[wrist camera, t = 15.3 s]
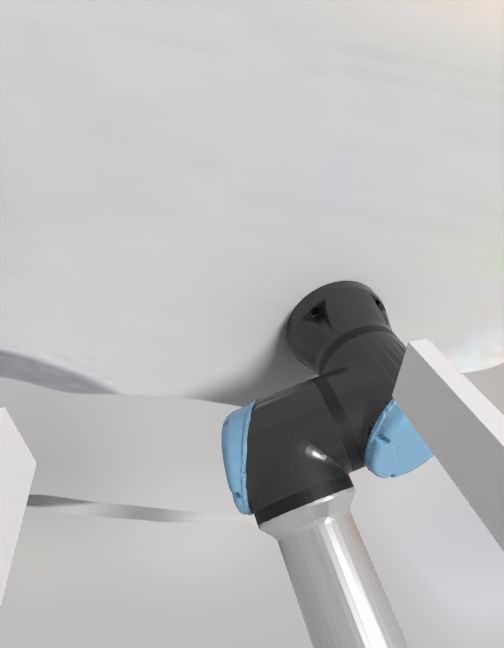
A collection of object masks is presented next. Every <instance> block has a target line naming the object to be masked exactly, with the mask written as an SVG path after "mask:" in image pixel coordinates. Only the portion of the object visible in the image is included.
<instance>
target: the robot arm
mask: <svg viewBox="0 0 504 648" xmlns="http://www.w3.org/2000/svg"><path fill="white" fill-rule="evenodd" d="M287 337H288V341H289V344H290V346H291V348H292V350H293V352H294V354H295V356H296V357H297V358H298V359H299V360H300V361H301V362H302V363H303V364H305V365H306V366H307V367H309V368H310V369H311V370H312V371H313V372H314V373H316V374H317V375H318V377H316V378H313V379H310V380H308V381H305V382H303V383H300V384H298V385H296V386H293V387H291V388H288V389H286V390H283V391H281V392H278V393H276V394H273V395H271V396H268V397H266V398H264V399H261V400H254V401H252V402H251V404H249V405H247V406H245V407H243V408H241V409H238V410H236V411H234V412H232V413H231V414H230V415H228V417H227V418H226V419H225V422H224V424H223V429H222V453H223V460H224V466H225V471H226V476H227V480H228V484H229V488H230V490H231V491H232V494H233V499H234V502H235V505H236V507H237V508H238V510H239V511H240V512H241V513H242V514H248V515H252V514H253V513H254V515H255V518H256V521H257V524H258V527H259V529H260V530H262V531H264V532H266V533H268V534H269V535H271V536H273V537H274V538H275V539H276V540H277V541H278V543H279V547H280V549H281V553H282V555H283V558H284V561H285V564H286V567H287V570H288V573H289V576H290V579H291V582H292V585H293V588H294V591H295V594H296V597H297V600H298V603H299V606H300V609H301V612H302V615H303V618H304V621H305V624H306V627H307V630H308V633H309V636H310V639H311V642H312V645H313V648H409V647H408V645H407V642H406V640H405V638H404V635H403V633H402V631H401V628H400V626H399V624H398V621H397V619H396V617H395V615H394V612H393V610H392V608H391V605H390V603H389V601H388V598H387V596H386V594H385V592H384V589H383V587H382V584H381V582H380V580H379V578H378V575H377V573H376V570H375V568H374V566H373V563H372V561H371V559H370V557H369V554H368V552H367V550H366V547H365V545H364V543H363V540H362V538H361V536H360V533H359V531H358V529H357V527H356V524H355V522H354V519H353V517H352V515H351V512H350V505H351V502H352V499H353V496H354V493H355V488H354V486H353V484H352V481H351V479H350V477H349V473H350V472H352V471H355V470H358V469H360V468H362V467H365V466H367V468H368V470H370V471H371V472H373V474H375V475H376V476H378V477H382V478H388V477H389V476H391V477H397V476H401V475H403V474H406V473H408V472H410V471H412V470H414V469H416V468H417V467H419V466H421V465H422V464H423V463H425V462H426V461H427V460H429V459H430V458H431V457H432V456H433V455H435V456H436V458H437V459H438V461H439V462H440V463H441V465H442V466H443V468H444V469H445V470H446V472H447V473H448V474H449V475H450V477H451V479H452V480H453V481H454V483H455V484H456V486H457V487H458V488H459V489H460V491H461V492H462V494H463V495H464V497H465V498H466V499H467V501H468V502H469V504H470V505H471V506H472V508H473V509H474V511H475V512H476V513H477V515H478V516H479V517H480V519H481V520H482V522H483V523H484V524H485V526H486V527H487V528H488V530H489V531H490V533H491V534H492V535H493V537H494V538H495V540H496V541H497V542H498V544H499V545H500V547H501V548H502V549H503V550H504V416H503V415H502V414H501V413H500V412H499V411H498V410H497V409H496V408H495V407H494V406H493V405H492V404H491V403H490V402H489V401H488V400H487V398H486V397H484V395H483V394H482V393H481V392H480V391H478V389H477V388H476V387H475V386H474V385H473V384H472V383H471V382H470V381H469V380H468V379H467V378H466V377H465V376H464V375H463V374H462V373H461V372H460V371H459V370H458V369H457V368H456V367H455V366H454V365H453V364H452V363H451V362H450V361H449V360H448V359H447V358H446V357H445V356H444V355H443V354H442V353H441V352H440V351H439V350H438V349H437V348H436V347H435V346H434V345H433V344H432V343H431V342H430V341H429V340H428V339H424V340H417V341H411V342H408V345H407V348H406V346H405V345H404V344H403V343H402V342H401V341H400V340H399V339H398V338H397V336H396V335H395V334H394V333H393V332H392V329H391V326H390V323H389V320H388V317H387V314H386V310H385V307H384V305H383V303H382V301H381V300H380V298H379V297H378V296H377V295H376V294H375V293H374V292H373V291H372V290H371V289H370V288H369V287H367V286H366V285H364V284H362V283H359V282H354V281H340V282H334V283H331V284H328V285H325V286H323V287H321V288H319V289H317V290H315V291H314V292H312V293H311V294H309V295H308V296H307V297H306V298H305V299H304V300H303V301H302V302H301V303H300V304H299V305H298V306H297V308H296V309H295V310H294V312H293V314H292V316H291V318H290V321H289V324H288V329H287ZM36 464H37V463H36V461H35V460H34V458H33V456H32V454H31V452H30V451H29V449H28V447H27V445H26V444H25V442H24V440H23V438H22V437H21V435H20V433H19V431H18V429H17V428H16V426H15V424H14V422H13V421H12V419H11V417H10V415H9V414H8V412H7V410H6V408H5V407H4V408H0V608H1V603H2V600H3V595H4V592H5V588H6V584H7V580H8V575H9V571H10V568H11V564H12V560H13V556H14V551H15V548H16V544H17V540H18V536H19V532H20V528H21V524H22V520H23V516H24V512H25V508H26V504H27V500H28V496H29V492H30V488H31V484H32V479H33V476H34V472H35V468H36Z"/></svg>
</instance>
